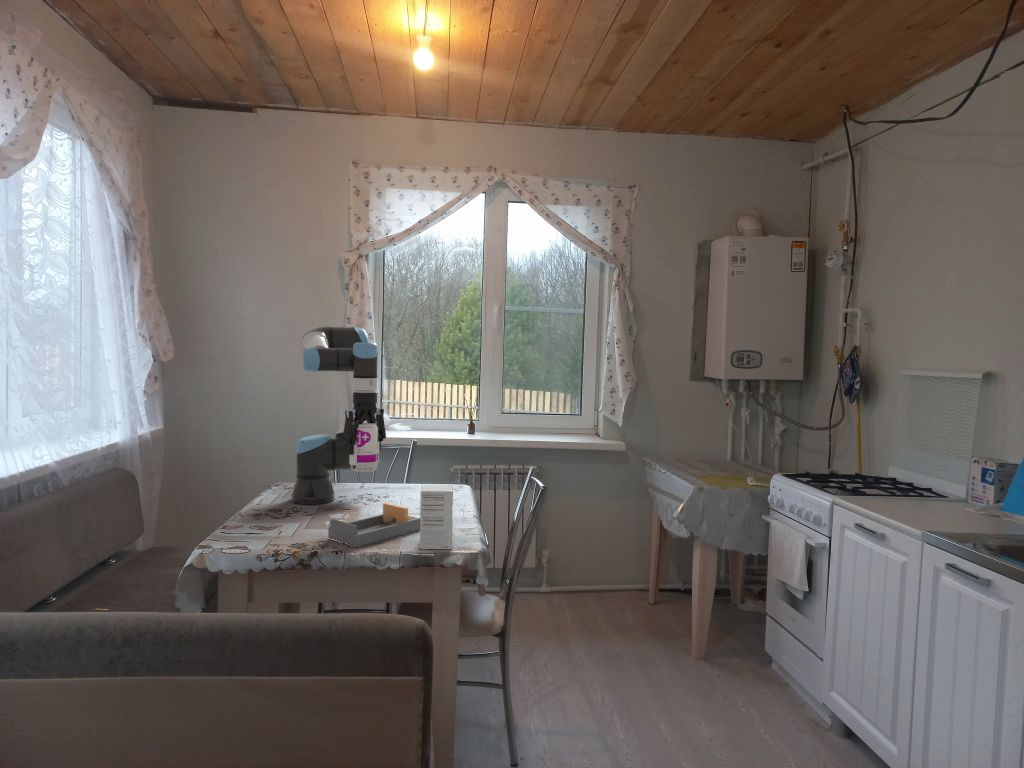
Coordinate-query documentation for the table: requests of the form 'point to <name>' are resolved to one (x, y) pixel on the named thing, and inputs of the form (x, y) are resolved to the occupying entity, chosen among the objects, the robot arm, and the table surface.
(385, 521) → the pusher
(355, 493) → the table surface
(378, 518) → the pusher lane
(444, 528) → the supplement box
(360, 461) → the supplement can
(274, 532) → the table surface
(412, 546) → the table surface
